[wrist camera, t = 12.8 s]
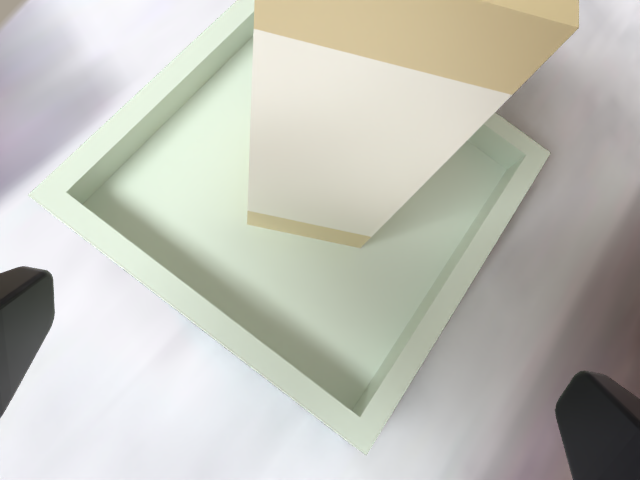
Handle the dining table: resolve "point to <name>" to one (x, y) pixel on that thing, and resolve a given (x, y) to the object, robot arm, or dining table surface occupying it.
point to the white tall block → (378, 100)
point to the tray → (284, 237)
